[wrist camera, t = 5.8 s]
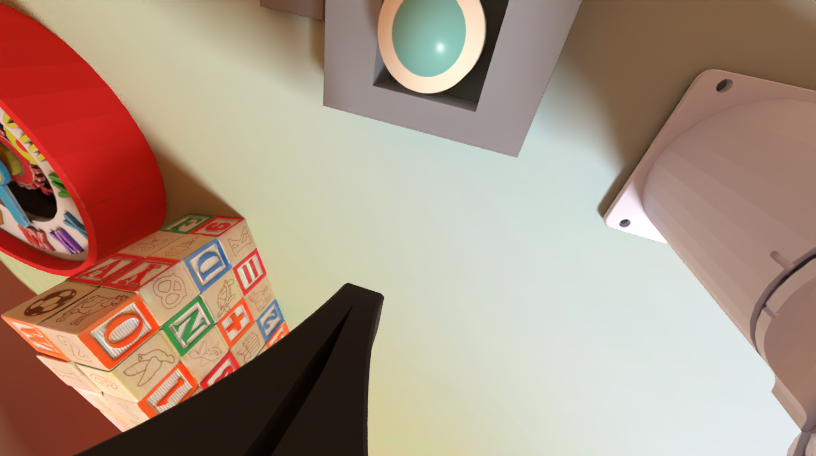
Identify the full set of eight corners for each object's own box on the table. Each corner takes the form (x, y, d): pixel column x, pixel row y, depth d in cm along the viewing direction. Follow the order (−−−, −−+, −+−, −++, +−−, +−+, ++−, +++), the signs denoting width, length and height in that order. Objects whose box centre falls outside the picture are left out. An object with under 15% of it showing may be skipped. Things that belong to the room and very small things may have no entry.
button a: (499, -8, 13) (499, -23, 10) (471, 90, 15) (464, 104, 12) (412, -26, 13) (384, -46, 10) (397, 72, 16) (371, 80, 13)
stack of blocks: (307, 372, 36) (231, 503, 26) (263, 362, 37) (175, 482, 27) (245, 215, 25) (69, 337, 15) (186, 210, 26) (-10, 318, 16)
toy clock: (-3, 33, 14) (133, 306, 26) (123, 35, 19) (190, 264, 30) (-294, -51, 17) (-51, 235, 28) (-115, -31, 21) (30, 206, 33)
